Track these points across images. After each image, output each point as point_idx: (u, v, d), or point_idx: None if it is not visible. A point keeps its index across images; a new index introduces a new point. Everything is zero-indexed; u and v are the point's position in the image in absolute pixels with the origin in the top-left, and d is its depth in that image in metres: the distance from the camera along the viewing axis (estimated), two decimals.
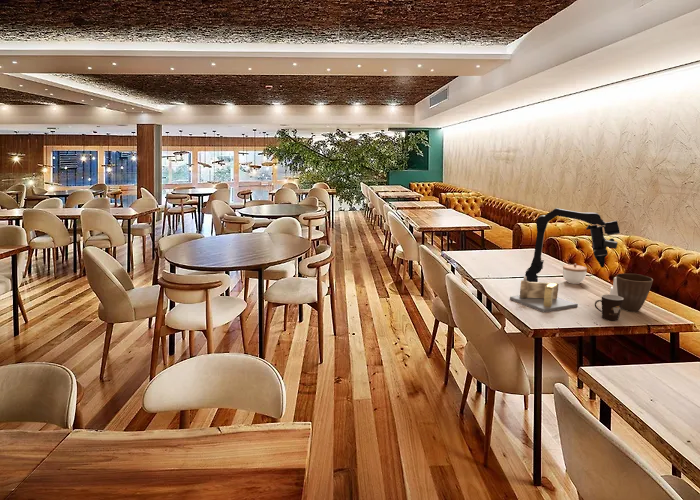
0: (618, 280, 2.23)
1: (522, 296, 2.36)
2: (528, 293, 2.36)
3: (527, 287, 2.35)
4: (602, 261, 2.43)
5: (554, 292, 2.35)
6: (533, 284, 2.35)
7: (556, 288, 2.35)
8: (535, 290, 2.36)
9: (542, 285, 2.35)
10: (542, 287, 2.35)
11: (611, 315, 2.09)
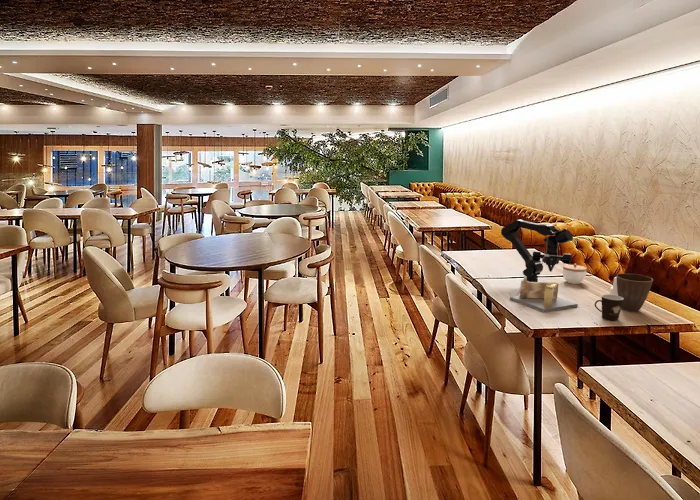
0: (618, 280, 2.23)
1: (522, 296, 2.36)
2: (528, 293, 2.36)
3: (527, 287, 2.35)
4: (553, 266, 2.45)
5: (554, 292, 2.35)
6: (533, 284, 2.35)
7: (556, 288, 2.35)
8: (535, 290, 2.36)
9: (542, 285, 2.35)
10: (542, 287, 2.35)
11: (611, 315, 2.09)
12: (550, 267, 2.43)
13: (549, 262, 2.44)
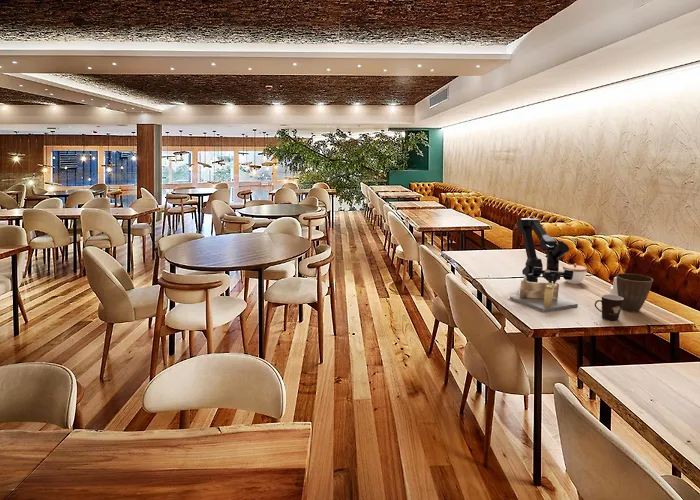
0: (618, 280, 2.23)
1: (522, 296, 2.37)
2: (528, 293, 2.36)
3: (527, 287, 2.35)
4: None
5: (554, 292, 2.34)
6: (533, 284, 2.35)
7: (556, 289, 2.34)
8: (535, 291, 2.35)
9: (542, 285, 2.34)
10: (542, 287, 2.35)
11: (611, 315, 2.09)
12: None
13: (550, 278, 2.37)
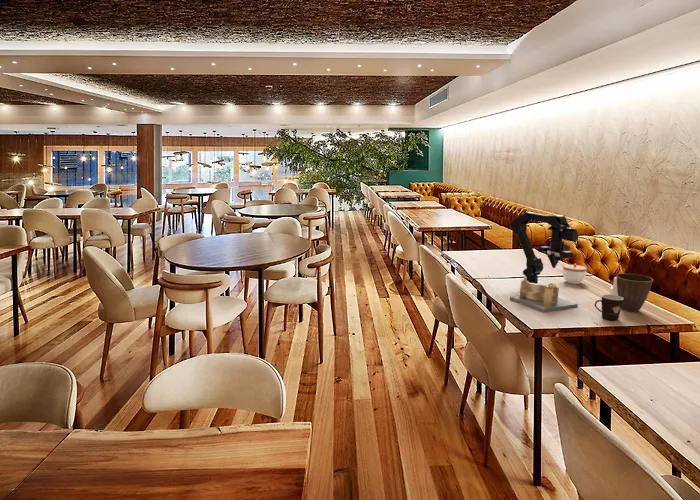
0: (618, 280, 2.23)
1: (520, 296, 2.37)
2: (527, 293, 2.36)
3: (525, 287, 2.35)
4: (556, 262, 2.51)
5: (553, 296, 2.28)
6: (532, 285, 2.33)
7: (555, 292, 2.27)
8: (534, 292, 2.33)
9: (541, 287, 2.31)
10: (541, 289, 2.31)
11: (611, 315, 2.09)
12: (552, 264, 2.53)
13: (550, 260, 2.52)
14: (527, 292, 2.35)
